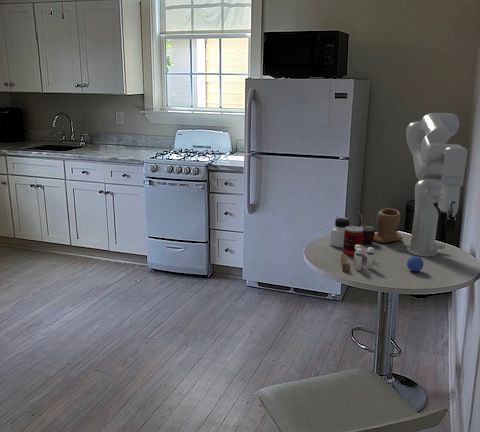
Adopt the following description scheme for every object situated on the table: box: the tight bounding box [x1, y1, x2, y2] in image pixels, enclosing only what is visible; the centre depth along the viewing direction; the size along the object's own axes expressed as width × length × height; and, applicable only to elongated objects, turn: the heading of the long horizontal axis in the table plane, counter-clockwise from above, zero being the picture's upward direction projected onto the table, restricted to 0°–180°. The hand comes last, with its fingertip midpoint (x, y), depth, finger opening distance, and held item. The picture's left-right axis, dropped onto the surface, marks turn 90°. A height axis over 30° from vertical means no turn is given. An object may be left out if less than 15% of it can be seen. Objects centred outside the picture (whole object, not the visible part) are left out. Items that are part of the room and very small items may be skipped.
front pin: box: [365, 246, 375, 270], centre depth 196 cm, size 2×2×8 cm
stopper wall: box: [340, 253, 349, 273], centre depth 198 cm, size 2×12×3 cm, turn 173°
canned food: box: [342, 225, 363, 257], centre depth 213 cm, size 8×8×11 cm
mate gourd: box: [356, 210, 376, 246], centre depth 227 cm, size 8×8×15 cm
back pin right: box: [353, 245, 363, 267], centre depth 199 cm, size 2×2×8 cm
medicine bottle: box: [329, 217, 350, 249], centre depth 224 cm, size 7×7×12 cm
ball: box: [406, 255, 424, 273], centre depth 195 cm, size 6×6×6 cm
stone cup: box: [373, 207, 403, 243], centre depth 232 cm, size 15×12×15 cm
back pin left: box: [354, 248, 364, 271], centre depth 194 cm, size 2×2×8 cm
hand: (446, 226), depth 190 cm, fingers open, 8 cm apart
